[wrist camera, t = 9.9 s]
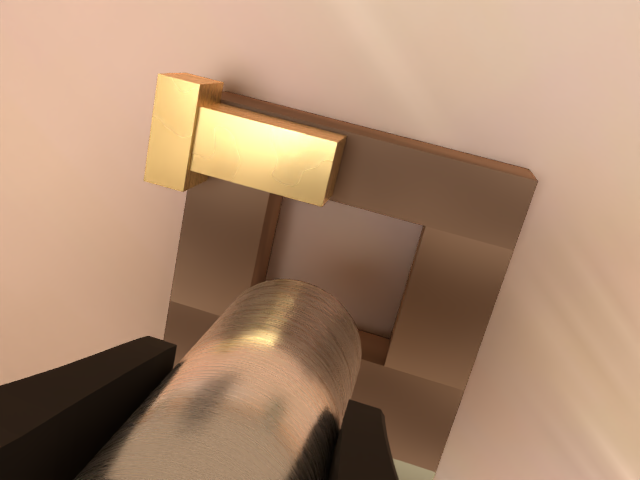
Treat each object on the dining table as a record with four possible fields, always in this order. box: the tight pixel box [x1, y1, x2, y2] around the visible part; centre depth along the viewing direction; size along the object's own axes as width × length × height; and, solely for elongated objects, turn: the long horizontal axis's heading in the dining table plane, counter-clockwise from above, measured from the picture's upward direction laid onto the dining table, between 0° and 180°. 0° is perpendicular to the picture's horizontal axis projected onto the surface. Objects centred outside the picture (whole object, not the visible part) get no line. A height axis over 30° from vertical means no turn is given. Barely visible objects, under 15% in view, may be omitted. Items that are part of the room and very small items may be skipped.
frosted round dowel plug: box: [74, 279, 362, 480], centre depth 11 cm, size 3×3×7 cm
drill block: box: [163, 91, 538, 480], centre depth 21 cm, size 17×10×2 cm, turn 167°
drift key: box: [144, 73, 347, 207], centre depth 17 cm, size 3×5×2 cm, turn 77°
